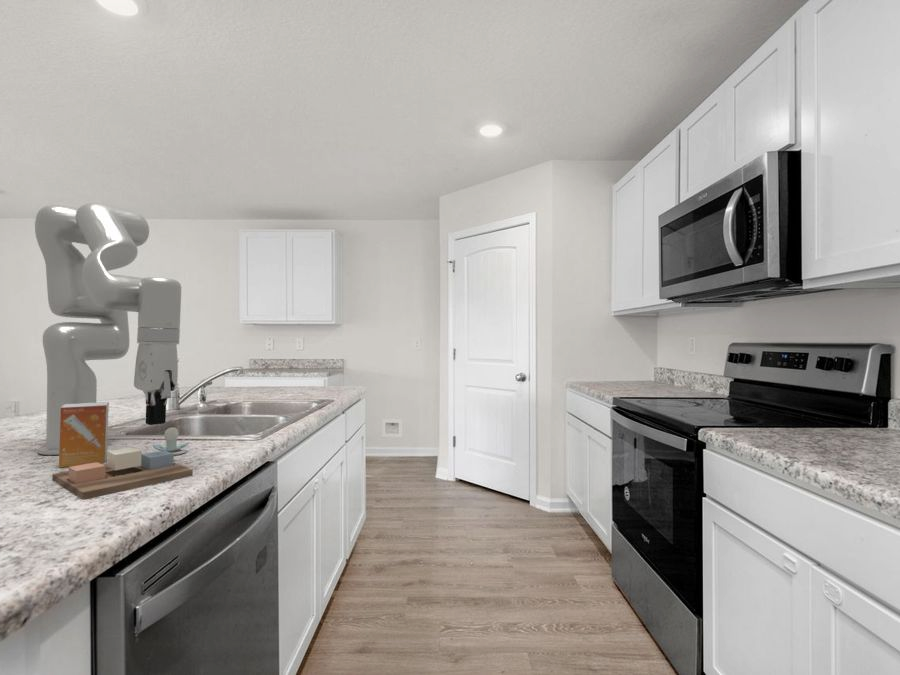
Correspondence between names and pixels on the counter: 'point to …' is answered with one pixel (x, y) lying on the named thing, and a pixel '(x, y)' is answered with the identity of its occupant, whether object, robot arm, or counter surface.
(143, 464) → the blue cube
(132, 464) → the cream cube
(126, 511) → the counter surface
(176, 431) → the pacifier
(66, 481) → the walnut board
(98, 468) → the pink square block
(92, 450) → the small box
